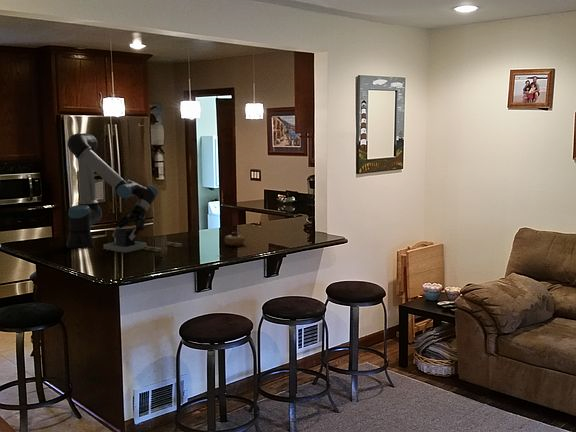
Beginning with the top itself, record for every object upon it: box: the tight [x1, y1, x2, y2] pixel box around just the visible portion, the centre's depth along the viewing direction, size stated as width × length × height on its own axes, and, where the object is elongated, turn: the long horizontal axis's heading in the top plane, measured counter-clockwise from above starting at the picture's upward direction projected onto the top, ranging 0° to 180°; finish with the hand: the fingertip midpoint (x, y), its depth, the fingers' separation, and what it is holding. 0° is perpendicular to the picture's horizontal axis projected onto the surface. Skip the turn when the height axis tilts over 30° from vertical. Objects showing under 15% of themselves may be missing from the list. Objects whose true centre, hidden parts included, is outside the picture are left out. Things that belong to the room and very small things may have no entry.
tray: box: [103, 240, 148, 254], centre depth 356 cm, size 17×17×3 cm
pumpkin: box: [224, 229, 246, 247], centre depth 370 cm, size 12×12×9 cm
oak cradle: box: [143, 241, 183, 253], centre depth 358 cm, size 12×18×2 cm, turn 148°
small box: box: [114, 228, 136, 247], centre depth 355 cm, size 11×6×10 cm, turn 48°
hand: (121, 237), depth 353 cm, fingers open, 13 cm apart
